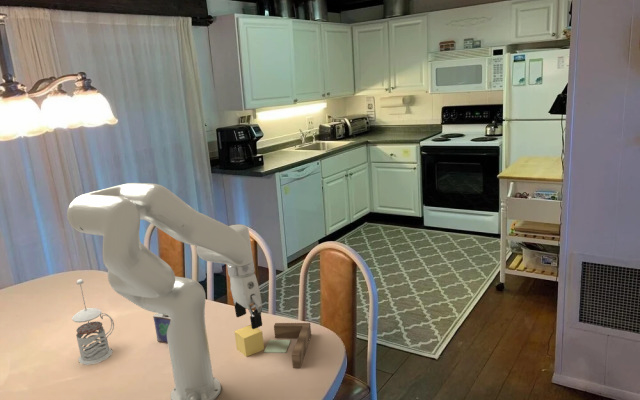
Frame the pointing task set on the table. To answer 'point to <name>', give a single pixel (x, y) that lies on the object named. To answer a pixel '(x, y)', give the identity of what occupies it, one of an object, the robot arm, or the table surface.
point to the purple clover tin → (161, 327)
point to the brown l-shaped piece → (290, 331)
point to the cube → (249, 340)
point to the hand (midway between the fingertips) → (249, 321)
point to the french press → (95, 350)
